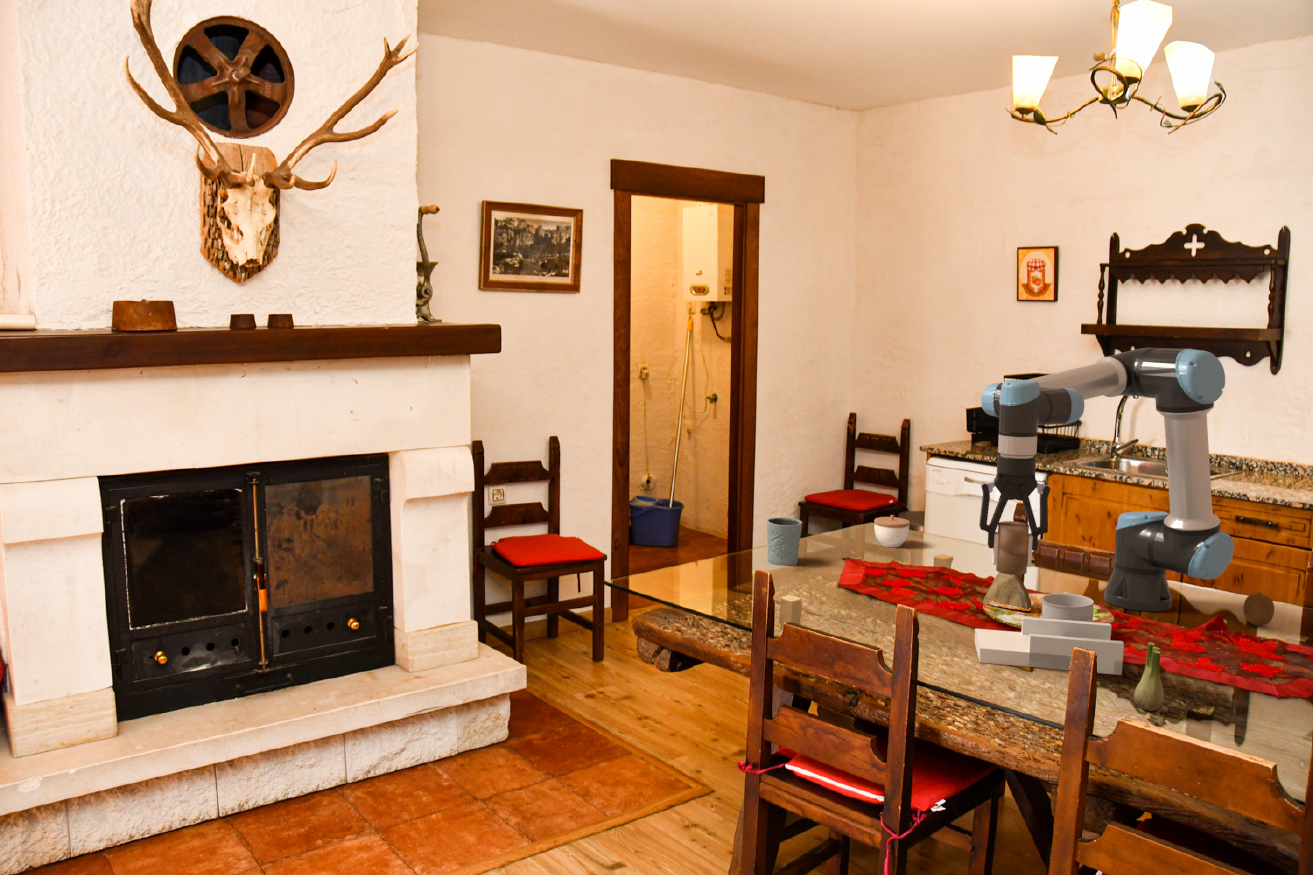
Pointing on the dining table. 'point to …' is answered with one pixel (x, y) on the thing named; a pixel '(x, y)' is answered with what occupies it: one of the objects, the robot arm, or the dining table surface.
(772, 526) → the embossed blue-grey cup
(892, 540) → the lidded jar
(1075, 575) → the dining table surface
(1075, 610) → the teacup
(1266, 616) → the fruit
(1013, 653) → the channel
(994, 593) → the rock
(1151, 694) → the fennel bulb
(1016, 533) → the brown cylinder
